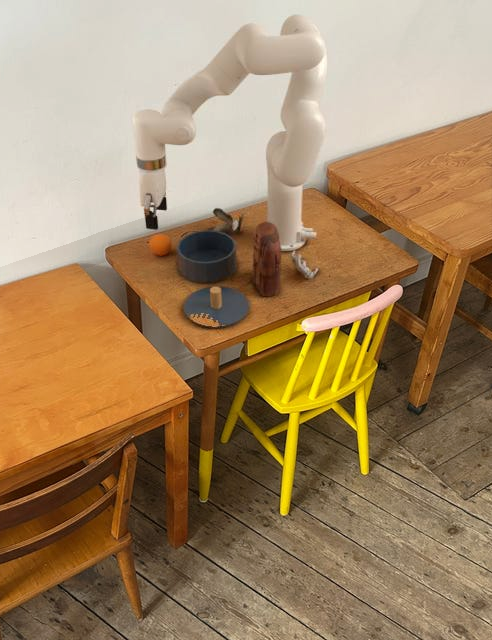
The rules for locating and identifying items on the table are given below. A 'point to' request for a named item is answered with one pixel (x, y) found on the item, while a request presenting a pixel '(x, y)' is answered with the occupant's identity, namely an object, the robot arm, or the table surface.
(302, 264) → the soldier figure
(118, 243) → the table surface
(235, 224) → the eagle figurine
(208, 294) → the pan lid
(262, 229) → the wooden figurine
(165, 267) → the table surface
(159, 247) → the orange ball
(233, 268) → the dark blue round container
